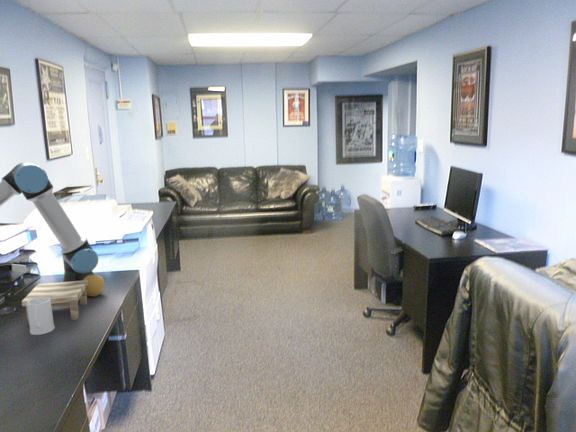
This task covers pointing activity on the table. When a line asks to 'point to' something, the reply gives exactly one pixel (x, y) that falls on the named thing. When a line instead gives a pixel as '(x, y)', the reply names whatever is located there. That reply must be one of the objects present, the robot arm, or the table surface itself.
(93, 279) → the stress ball
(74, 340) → the table surface
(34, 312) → the mug
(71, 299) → the footstool
